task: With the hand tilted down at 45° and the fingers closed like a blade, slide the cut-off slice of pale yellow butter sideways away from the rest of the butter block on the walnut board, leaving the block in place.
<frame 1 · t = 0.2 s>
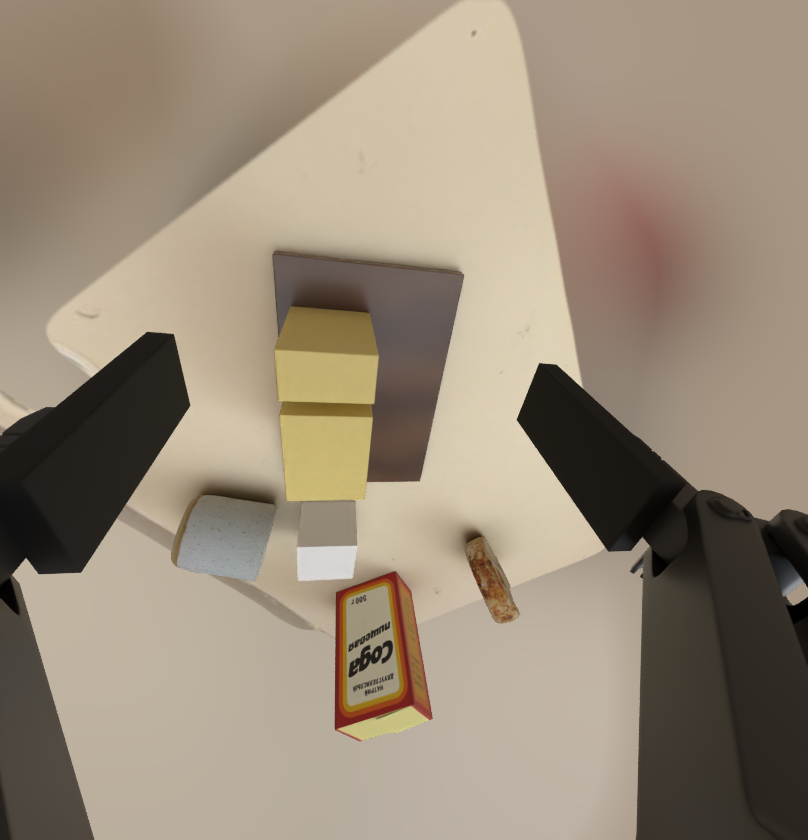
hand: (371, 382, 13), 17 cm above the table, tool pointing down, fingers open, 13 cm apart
white cube: (328, 517, 42), on the table
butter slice: (330, 331, 28), point 1 cm above the table, touching butter board
ceramic mug: (237, 514, 39), on the table
baking soda box: (374, 590, 53), on the table
butter block: (329, 402, 32), point 1 cm above the table, touching butter board
stone disc: (477, 545, 50), on the table
butter board: (363, 389, 32), on the table
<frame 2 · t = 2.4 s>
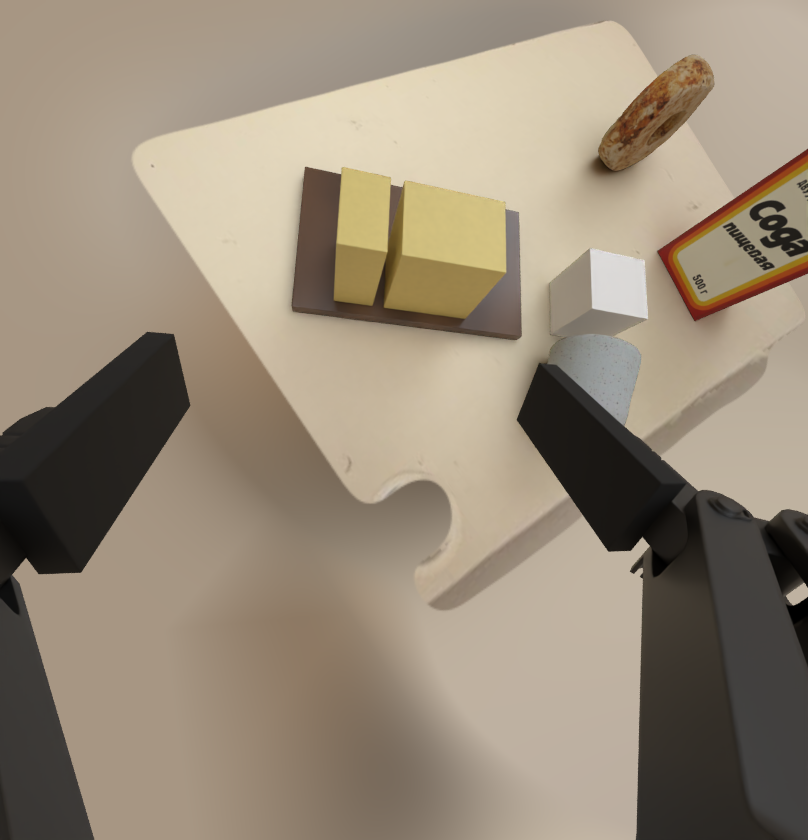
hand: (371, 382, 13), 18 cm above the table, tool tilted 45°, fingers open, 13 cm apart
white cube: (573, 313, 38), on the table
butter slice: (355, 273, 32), point 1 cm above the table, touching butter board
ceramic mug: (569, 402, 36), on the table
baking soda box: (692, 278, 43), on the table
butter block: (426, 284, 33), point 1 cm above the table, touching butter board
stone disc: (615, 161, 43), on the table
butter board: (414, 260, 35), on the table
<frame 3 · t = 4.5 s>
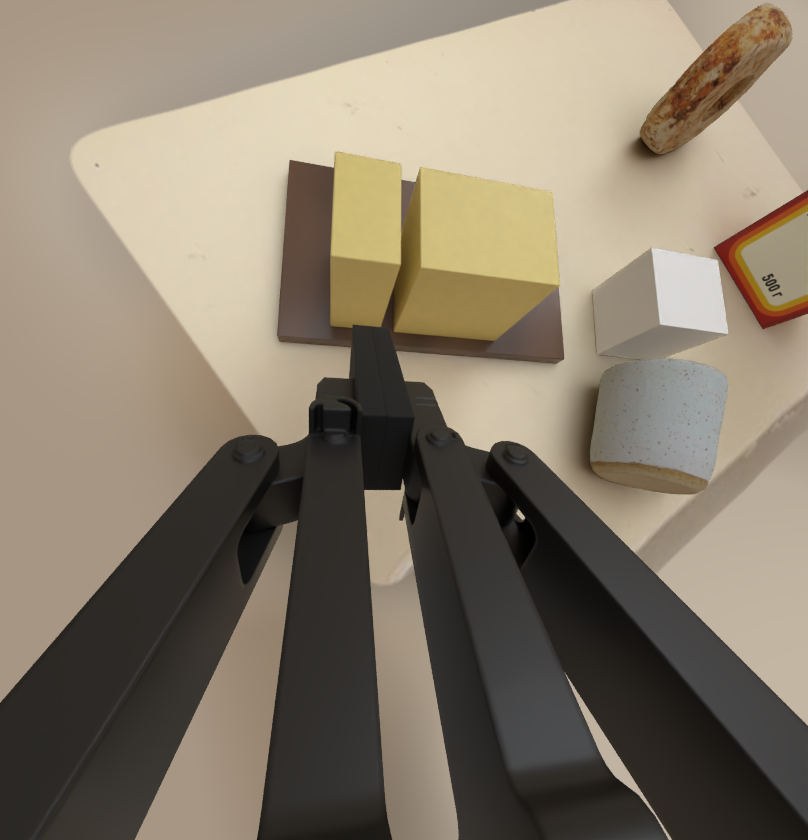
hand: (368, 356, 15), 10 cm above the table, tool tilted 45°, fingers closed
white cube: (621, 327, 31), on the table
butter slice: (356, 290, 25), point 1 cm above the table, touching butter board
ceramic mug: (624, 437, 29), on the table
baking soda box: (755, 278, 36), on the table
butter block: (445, 300, 27), point 1 cm above the table, touching butter board
stone disc: (658, 143, 36), on the table
butter board: (428, 270, 28), on the table
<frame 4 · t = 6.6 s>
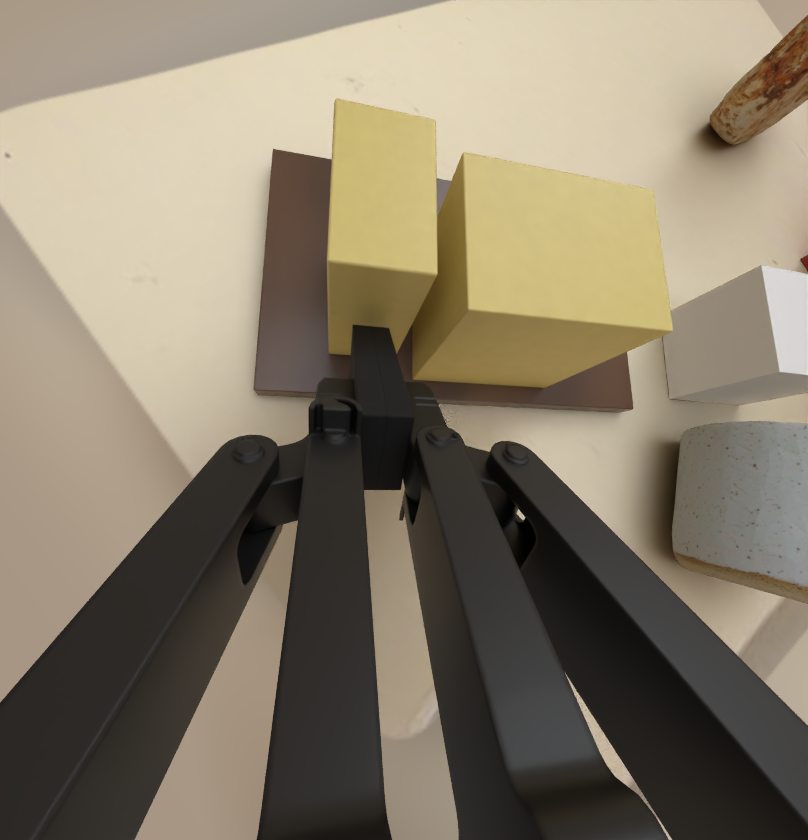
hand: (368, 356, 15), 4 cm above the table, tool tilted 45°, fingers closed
white cube: (697, 361, 25), on the table
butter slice: (363, 304, 19), point 1 cm above the table, touching gripper
ceramic mug: (707, 507, 23), on the table
butter block: (479, 334, 20), point 1 cm above the table, touching butter board
stone disc: (728, 132, 30), on the table
butter board: (455, 293, 22), on the table
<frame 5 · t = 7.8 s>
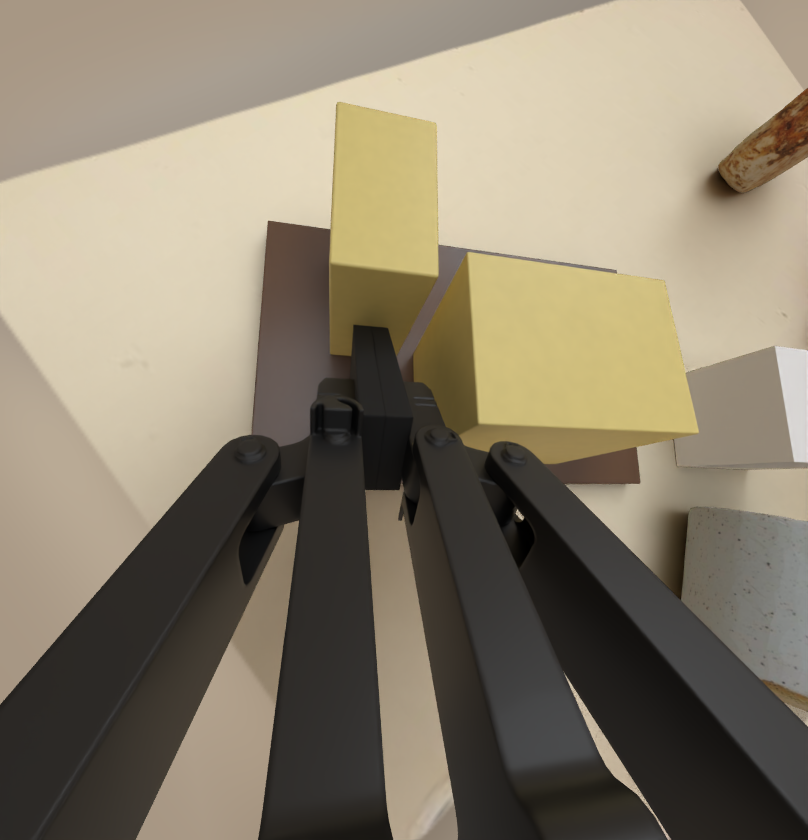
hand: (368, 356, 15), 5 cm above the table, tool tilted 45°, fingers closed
white cube: (705, 424, 24), on the table
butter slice: (364, 305, 19), point 1 cm above the table, touching butter board, gripper
ceramic mug: (715, 579, 22), on the table
butter block: (484, 408, 19), point 1 cm above the table, touching butter board, gripper
stone disc: (736, 178, 29), on the table
butter board: (457, 364, 21), on the table
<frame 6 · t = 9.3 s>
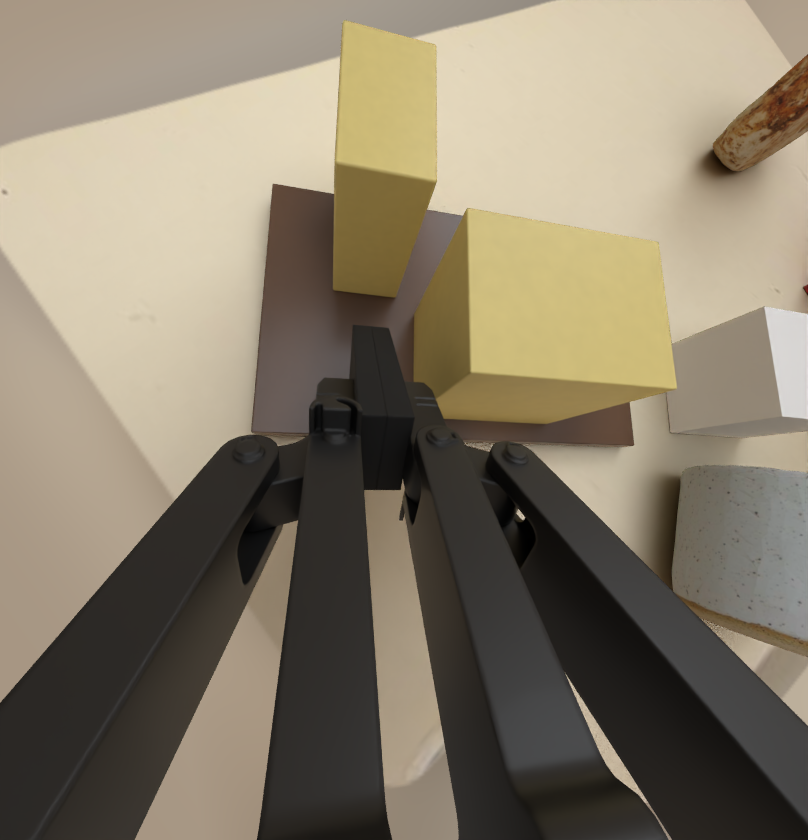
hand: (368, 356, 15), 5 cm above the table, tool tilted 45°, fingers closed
white cube: (698, 393, 25), on the table
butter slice: (366, 246, 20), point 1 cm above the table, touching butter board
ceramic mug: (707, 542, 23), on the table
butter block: (481, 369, 20), point 1 cm above the table, touching butter board
stone disc: (731, 158, 30), on the table
butter board: (456, 327, 21), on the table
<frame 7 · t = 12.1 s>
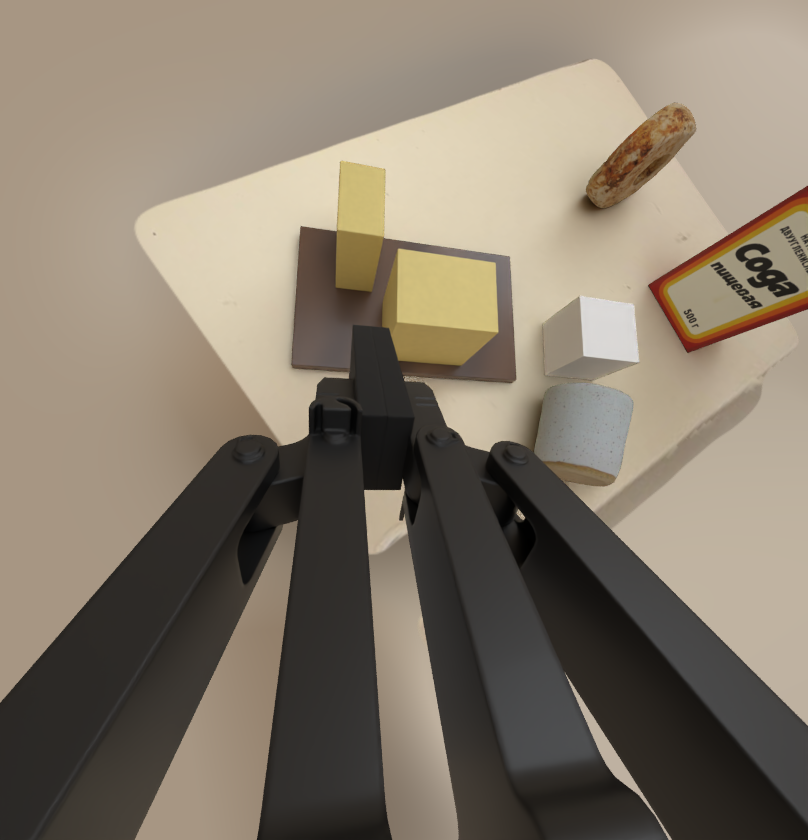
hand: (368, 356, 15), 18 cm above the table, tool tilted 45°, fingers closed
white cube: (566, 352, 39), on the table
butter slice: (355, 262, 34), point 1 cm above the table, touching butter board
ceramic mug: (565, 441, 37), on the table
baking soda box: (683, 309, 43), on the table
butter block: (422, 333, 34), point 1 cm above the table, touching butter board
stone disc: (603, 198, 44), on the table
butter board: (409, 309, 36), on the table
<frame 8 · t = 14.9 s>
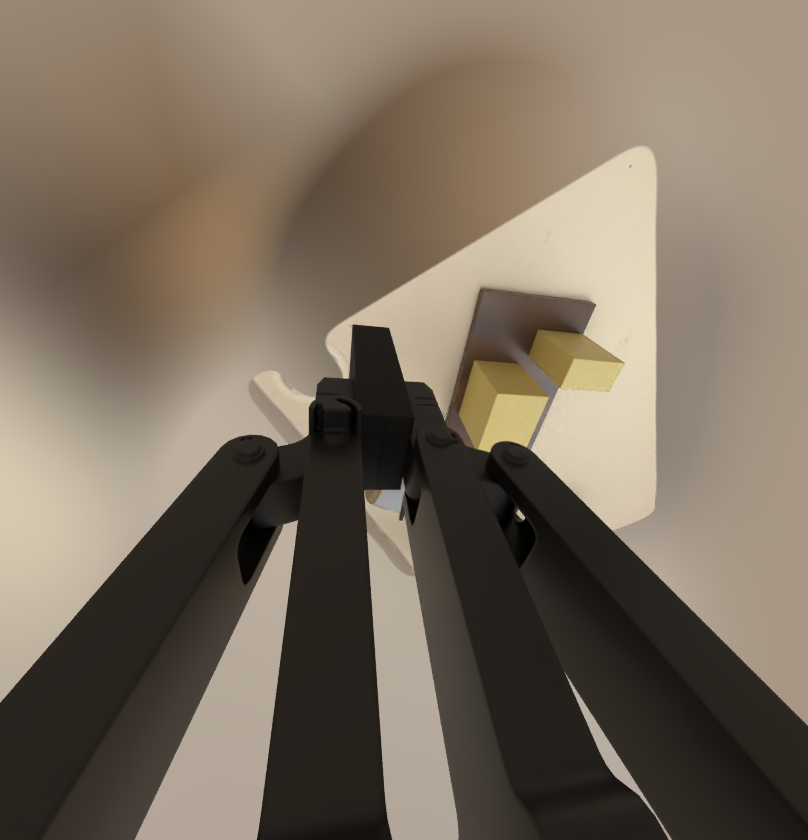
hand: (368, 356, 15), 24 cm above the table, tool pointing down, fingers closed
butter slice: (554, 345, 43), point 1 cm above the table, touching butter board
ceramic mug: (394, 472, 53), on the table
butter block: (487, 389, 45), point 1 cm above the table, touching butter board
butter board: (508, 380, 46), on the table
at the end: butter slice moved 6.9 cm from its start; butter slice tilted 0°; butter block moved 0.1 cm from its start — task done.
